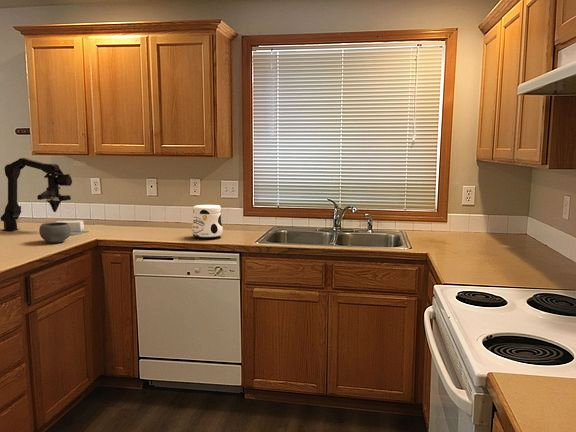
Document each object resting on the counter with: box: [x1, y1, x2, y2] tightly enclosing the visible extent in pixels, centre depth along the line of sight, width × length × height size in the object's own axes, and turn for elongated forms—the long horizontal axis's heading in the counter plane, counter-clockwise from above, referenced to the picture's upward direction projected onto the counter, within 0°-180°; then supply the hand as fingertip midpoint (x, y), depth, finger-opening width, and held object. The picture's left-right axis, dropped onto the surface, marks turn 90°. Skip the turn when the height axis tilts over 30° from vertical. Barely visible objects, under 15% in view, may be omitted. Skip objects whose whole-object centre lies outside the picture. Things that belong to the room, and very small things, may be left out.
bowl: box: [38, 221, 71, 244], centre depth 262 cm, size 15×15×10 cm
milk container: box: [191, 204, 224, 239], centre depth 281 cm, size 17×17×18 cm
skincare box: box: [56, 219, 85, 232], centre depth 295 cm, size 8×6×15 cm
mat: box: [69, 230, 89, 236], centre depth 291 cm, size 16×14×1 cm
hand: (54, 211), depth 292 cm, fingers closed
